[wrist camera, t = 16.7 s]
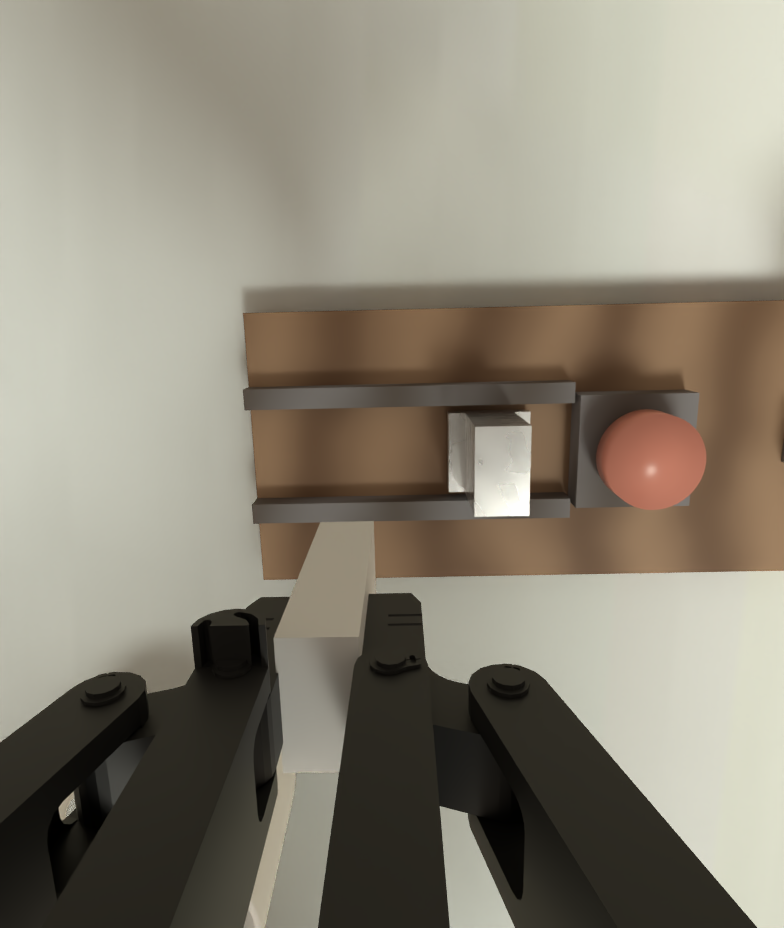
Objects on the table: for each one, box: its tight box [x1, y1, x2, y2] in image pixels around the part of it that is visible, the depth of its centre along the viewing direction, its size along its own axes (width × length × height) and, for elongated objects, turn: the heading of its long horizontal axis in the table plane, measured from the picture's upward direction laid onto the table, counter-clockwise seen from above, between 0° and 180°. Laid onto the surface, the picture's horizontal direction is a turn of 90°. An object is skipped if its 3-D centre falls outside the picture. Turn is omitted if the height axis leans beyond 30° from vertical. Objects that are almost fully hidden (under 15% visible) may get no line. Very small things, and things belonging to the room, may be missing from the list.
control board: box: [243, 300, 784, 580], centre depth 31 cm, size 36×14×4 cm, turn 91°
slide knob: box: [447, 409, 532, 517], centre depth 29 cm, size 4×4×5 cm
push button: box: [596, 409, 706, 510], centre depth 28 cm, size 4×4×2 cm
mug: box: [59, 751, 296, 928], centre depth 33 cm, size 9×12×11 cm
